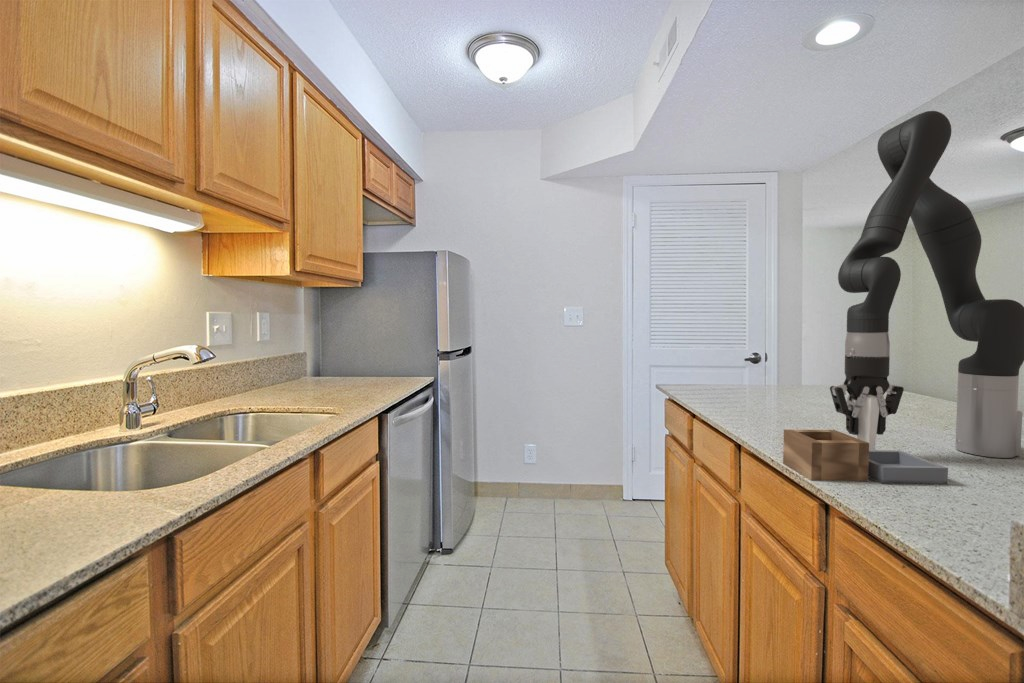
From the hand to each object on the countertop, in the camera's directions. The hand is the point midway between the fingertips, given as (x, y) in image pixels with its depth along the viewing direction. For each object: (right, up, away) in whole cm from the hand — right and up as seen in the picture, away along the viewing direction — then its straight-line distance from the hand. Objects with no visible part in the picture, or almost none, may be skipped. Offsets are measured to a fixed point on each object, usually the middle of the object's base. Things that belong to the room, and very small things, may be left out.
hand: (865, 433), depth 99 cm
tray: (-3, -6, -10) cm, 12 cm away
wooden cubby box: (-15, -6, -9) cm, 18 cm away
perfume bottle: (0, -5, 0) cm, 5 cm away
